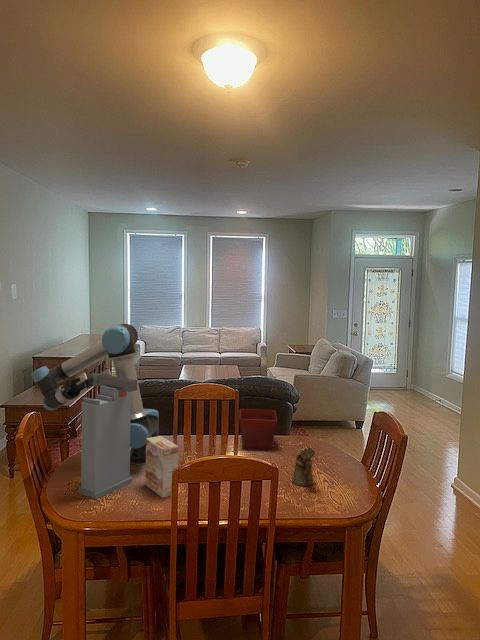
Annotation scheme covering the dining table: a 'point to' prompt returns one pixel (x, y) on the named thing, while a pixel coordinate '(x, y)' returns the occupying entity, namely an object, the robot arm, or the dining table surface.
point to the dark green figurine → (303, 468)
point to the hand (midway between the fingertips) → (98, 373)
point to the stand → (105, 443)
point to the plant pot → (257, 428)
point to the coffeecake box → (160, 464)
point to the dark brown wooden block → (112, 382)
